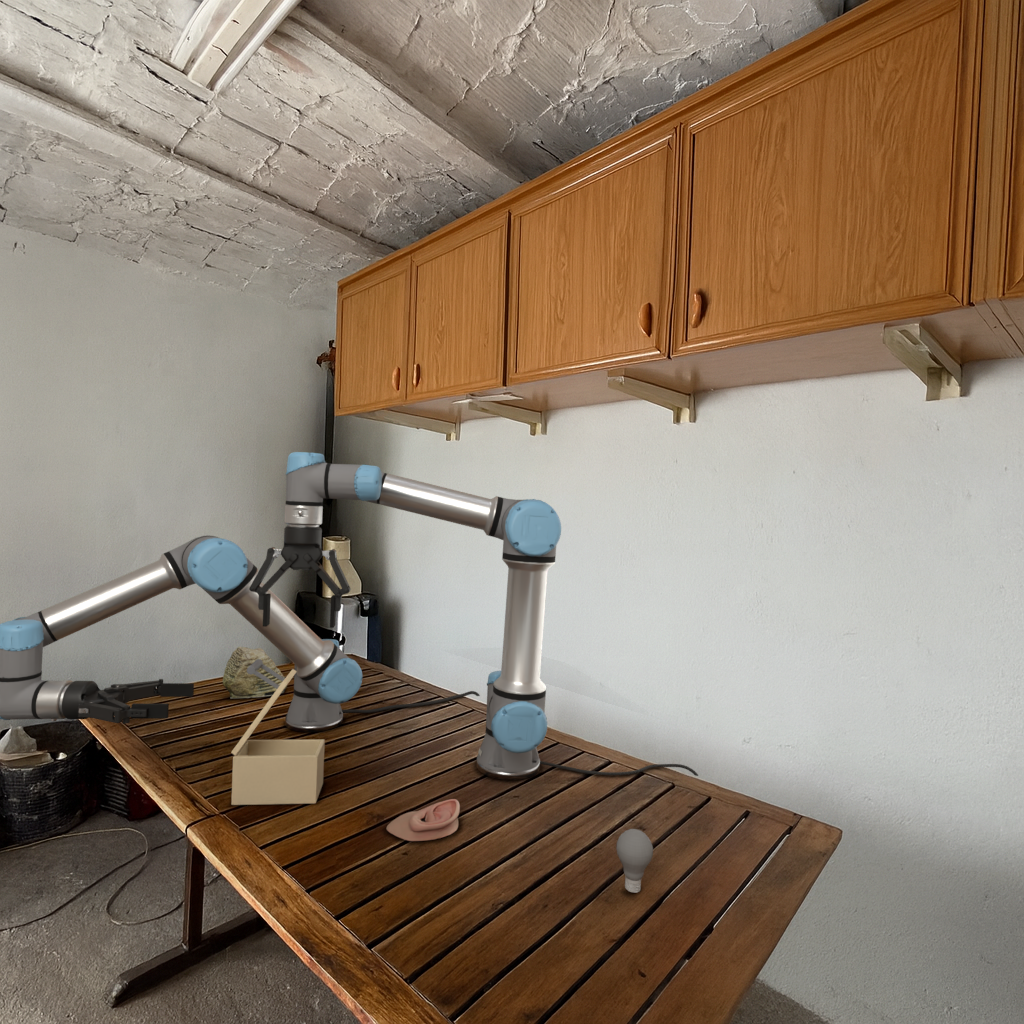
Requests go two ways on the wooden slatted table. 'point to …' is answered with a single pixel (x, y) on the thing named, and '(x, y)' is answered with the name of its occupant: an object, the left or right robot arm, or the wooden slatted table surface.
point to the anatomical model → (427, 822)
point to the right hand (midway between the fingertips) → (299, 626)
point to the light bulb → (634, 857)
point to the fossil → (245, 683)
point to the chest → (278, 772)
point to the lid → (253, 670)
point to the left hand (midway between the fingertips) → (181, 699)
